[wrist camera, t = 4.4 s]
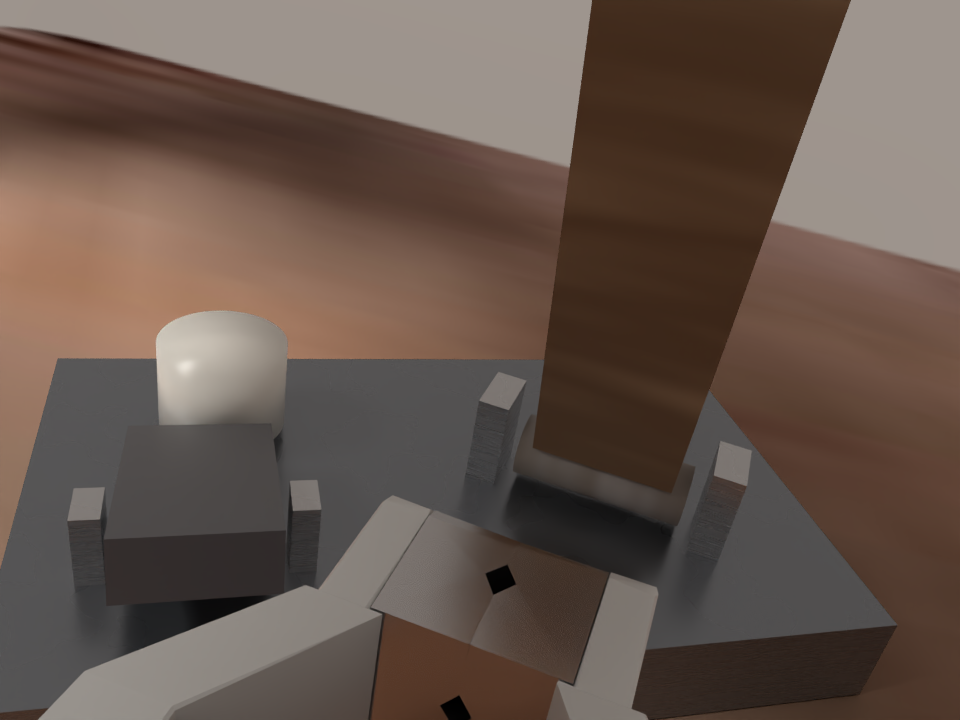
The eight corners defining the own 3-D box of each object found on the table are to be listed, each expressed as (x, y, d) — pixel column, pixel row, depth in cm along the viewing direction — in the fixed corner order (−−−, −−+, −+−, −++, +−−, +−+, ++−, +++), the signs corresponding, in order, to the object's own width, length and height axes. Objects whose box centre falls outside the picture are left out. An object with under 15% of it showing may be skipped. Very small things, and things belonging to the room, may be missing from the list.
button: (161, 385, 25) (159, 309, 24) (280, 385, 26) (284, 311, 24) (155, 457, 22) (152, 375, 21) (287, 453, 23) (292, 375, 22)
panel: (65, 429, 27) (49, 283, 24) (666, 418, 33) (704, 299, 30) (-22, 801, 17) (-62, 621, 15) (859, 693, 23) (938, 550, 20)
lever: (665, 564, 23) (1122, -579, 7) (501, 507, 24) (607, -613, 8) (692, 465, 25) (1096, -599, 9) (539, 416, 25) (682, -626, 10)
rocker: (129, 480, 21) (128, 425, 21) (269, 475, 22) (271, 423, 22) (106, 605, 17) (103, 539, 16) (284, 593, 17) (285, 530, 17)
